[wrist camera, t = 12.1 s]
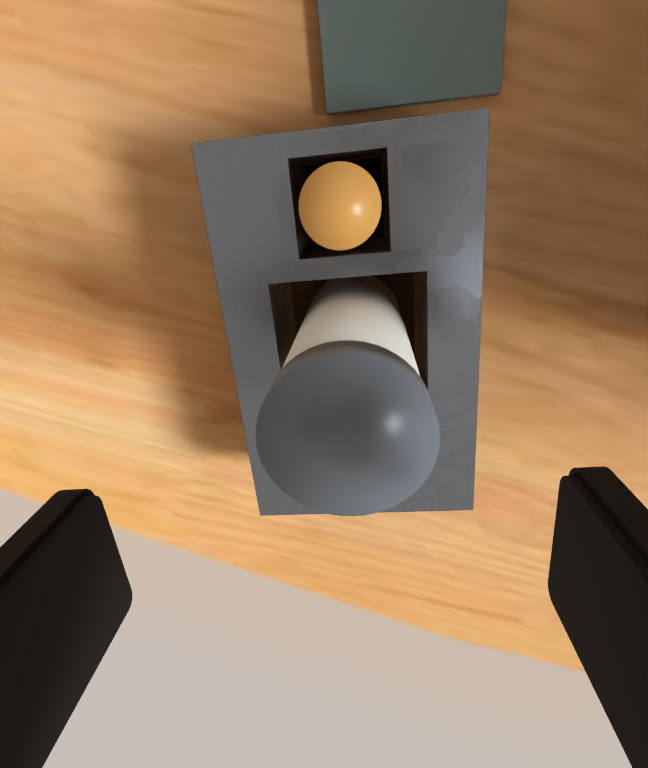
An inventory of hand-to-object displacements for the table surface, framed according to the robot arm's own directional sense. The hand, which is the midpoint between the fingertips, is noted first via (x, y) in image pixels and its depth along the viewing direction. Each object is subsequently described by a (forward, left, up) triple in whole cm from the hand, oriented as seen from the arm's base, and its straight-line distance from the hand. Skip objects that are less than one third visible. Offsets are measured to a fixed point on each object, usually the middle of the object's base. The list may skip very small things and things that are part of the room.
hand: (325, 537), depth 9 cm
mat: (-13, +3, -15) cm, 20 cm away
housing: (0, 0, -15) cm, 15 cm away
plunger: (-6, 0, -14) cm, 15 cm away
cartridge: (0, 0, -15) cm, 15 cm away
